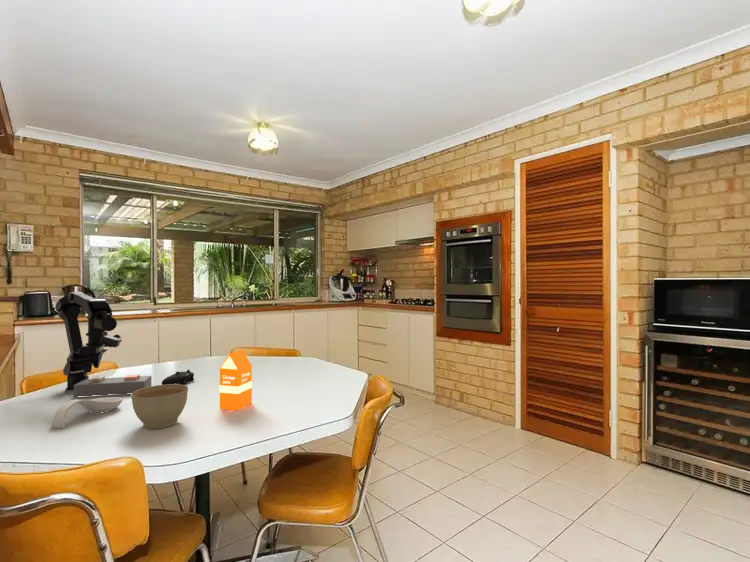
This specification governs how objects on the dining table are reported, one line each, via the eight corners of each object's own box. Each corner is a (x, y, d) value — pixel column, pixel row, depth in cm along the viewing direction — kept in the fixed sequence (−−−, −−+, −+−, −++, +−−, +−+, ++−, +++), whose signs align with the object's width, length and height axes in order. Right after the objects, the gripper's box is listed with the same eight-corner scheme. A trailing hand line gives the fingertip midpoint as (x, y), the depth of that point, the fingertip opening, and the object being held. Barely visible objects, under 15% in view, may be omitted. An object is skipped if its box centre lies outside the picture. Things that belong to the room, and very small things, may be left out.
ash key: (87, 389, 161) (87, 379, 161) (92, 386, 165) (92, 376, 165) (100, 388, 162) (100, 378, 162) (104, 385, 166) (104, 376, 166)
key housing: (73, 397, 157) (73, 385, 157) (84, 391, 167) (84, 379, 167) (144, 393, 163) (144, 381, 163) (151, 387, 173) (151, 375, 173)
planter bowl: (174, 412, 139) (174, 381, 139) (197, 422, 129) (197, 389, 129) (122, 425, 127) (122, 391, 127) (143, 437, 117) (143, 400, 117)
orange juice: (252, 403, 149) (252, 350, 149) (238, 410, 141) (238, 354, 141) (234, 401, 151) (234, 349, 152) (219, 409, 143) (219, 353, 143)
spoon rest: (101, 405, 148) (101, 386, 148) (130, 406, 147) (130, 387, 147) (40, 428, 125) (40, 405, 125) (74, 430, 123) (74, 407, 123)
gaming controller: (176, 369, 189) (196, 365, 188) (178, 382, 189) (199, 378, 188) (158, 376, 175) (180, 372, 174) (161, 390, 175) (182, 386, 174)
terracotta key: (124, 387, 164) (124, 377, 164) (128, 384, 168) (128, 375, 168) (136, 386, 165) (136, 376, 165) (139, 383, 169) (139, 374, 169)
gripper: (110, 331, 156) (110, 371, 156) (126, 326, 174) (126, 362, 174) (77, 332, 154) (77, 373, 153) (97, 327, 172) (97, 364, 171)
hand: (96, 367), depth 163 cm, fingers closed
